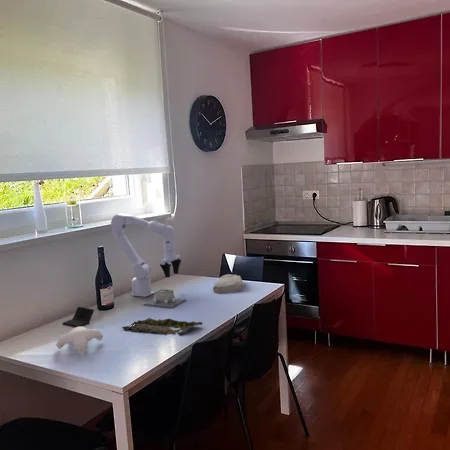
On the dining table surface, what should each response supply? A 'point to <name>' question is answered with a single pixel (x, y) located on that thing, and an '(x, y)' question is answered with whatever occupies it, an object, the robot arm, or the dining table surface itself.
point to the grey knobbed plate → (165, 305)
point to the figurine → (79, 338)
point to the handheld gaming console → (80, 317)
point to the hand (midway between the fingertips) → (171, 275)
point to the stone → (228, 284)
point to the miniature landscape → (154, 326)
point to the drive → (164, 295)
